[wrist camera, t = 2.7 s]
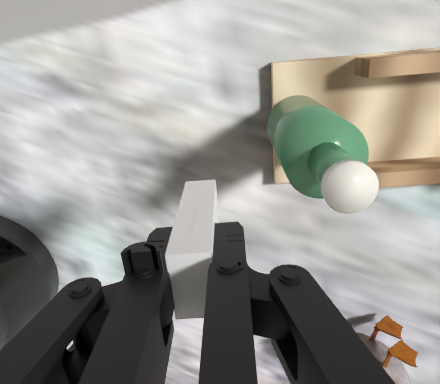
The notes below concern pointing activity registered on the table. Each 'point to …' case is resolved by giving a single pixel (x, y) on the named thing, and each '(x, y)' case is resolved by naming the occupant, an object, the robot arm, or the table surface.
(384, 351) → the decorative duck model
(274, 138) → the bottle
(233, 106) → the table surface
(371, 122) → the cradle
